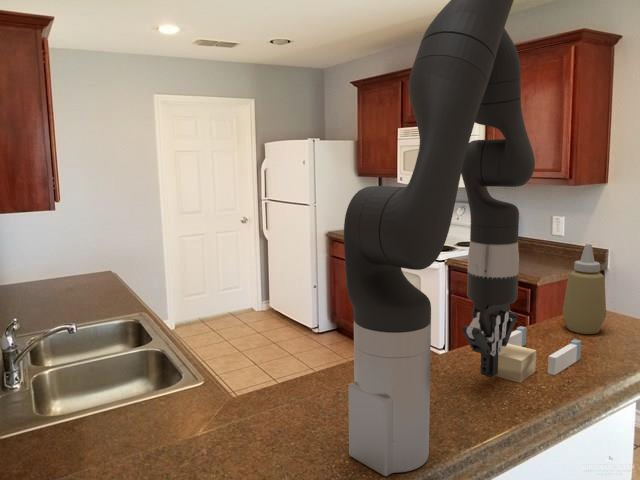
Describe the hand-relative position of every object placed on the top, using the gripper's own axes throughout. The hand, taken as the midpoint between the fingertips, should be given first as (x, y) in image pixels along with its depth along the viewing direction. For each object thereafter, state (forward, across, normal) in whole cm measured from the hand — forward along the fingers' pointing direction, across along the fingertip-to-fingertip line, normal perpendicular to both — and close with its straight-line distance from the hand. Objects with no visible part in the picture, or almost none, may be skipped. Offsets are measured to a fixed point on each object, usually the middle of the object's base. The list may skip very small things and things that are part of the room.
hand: (489, 374), depth 84 cm
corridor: (+2, +16, 0) cm, 16 cm away
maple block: (+2, +7, 0) cm, 7 cm away
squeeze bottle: (+2, +37, 0) cm, 37 cm away
